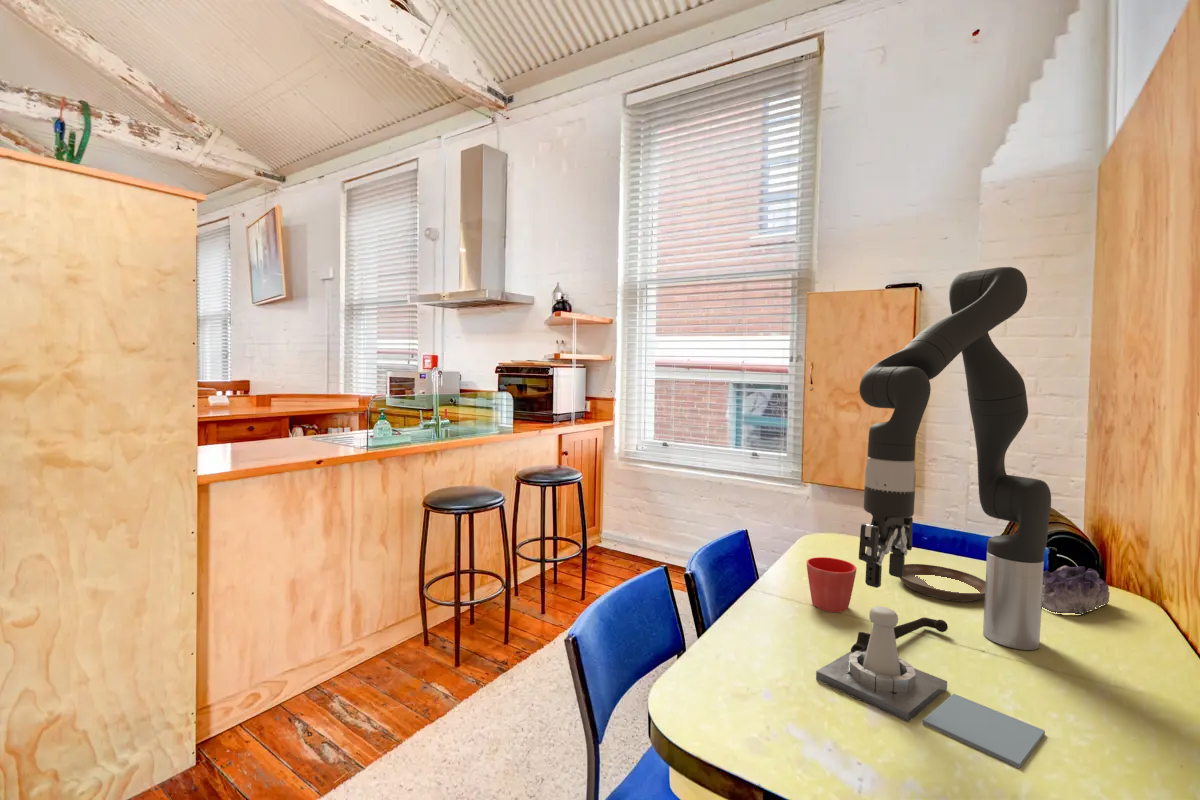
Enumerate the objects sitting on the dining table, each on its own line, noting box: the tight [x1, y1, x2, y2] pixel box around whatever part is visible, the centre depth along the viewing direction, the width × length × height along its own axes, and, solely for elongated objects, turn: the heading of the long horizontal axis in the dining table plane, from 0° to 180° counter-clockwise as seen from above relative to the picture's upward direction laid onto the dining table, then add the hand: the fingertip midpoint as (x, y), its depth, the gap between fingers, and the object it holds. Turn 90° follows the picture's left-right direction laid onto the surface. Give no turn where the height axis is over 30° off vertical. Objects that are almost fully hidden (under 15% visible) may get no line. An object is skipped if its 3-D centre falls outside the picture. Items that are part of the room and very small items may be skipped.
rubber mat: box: [922, 693, 1046, 769], centre depth 83 cm, size 12×12×1 cm
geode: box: [1042, 565, 1111, 614], centre depth 132 cm, size 20×12×10 cm, turn 123°
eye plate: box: [815, 650, 948, 723], centre depth 95 cm, size 15×15×4 cm
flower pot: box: [806, 556, 857, 613], centre depth 128 cm, size 11×11×10 cm
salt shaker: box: [862, 605, 901, 676], centre depth 94 cm, size 6×6×13 cm
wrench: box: [850, 617, 949, 653], centre depth 107 cm, size 5×5×30 cm
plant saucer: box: [899, 563, 986, 602], centre depth 141 cm, size 21×21×3 cm
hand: (884, 581), depth 94 cm, fingers open, 8 cm apart
